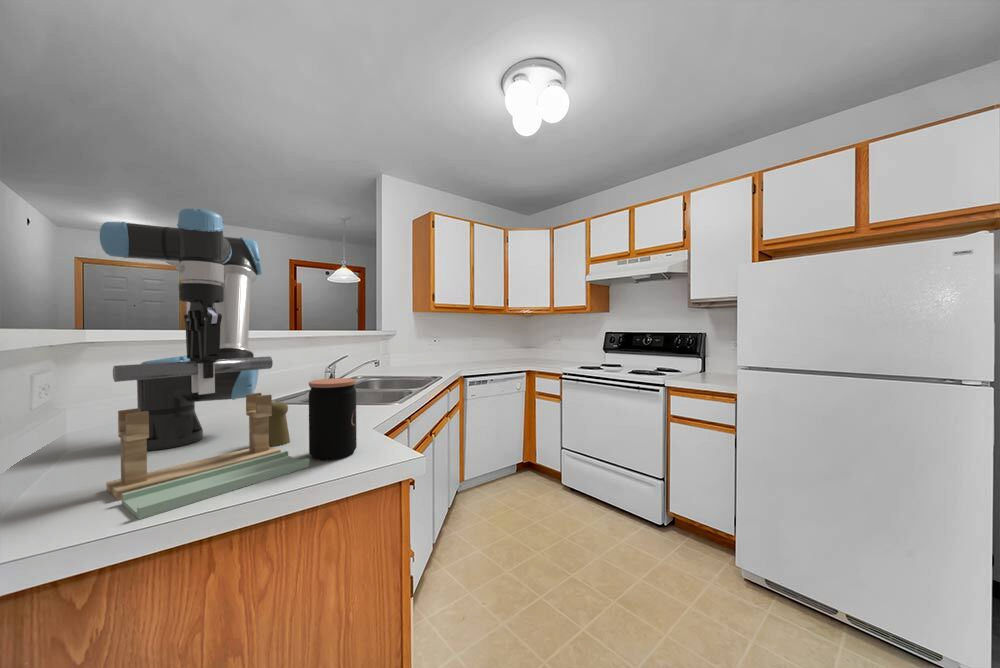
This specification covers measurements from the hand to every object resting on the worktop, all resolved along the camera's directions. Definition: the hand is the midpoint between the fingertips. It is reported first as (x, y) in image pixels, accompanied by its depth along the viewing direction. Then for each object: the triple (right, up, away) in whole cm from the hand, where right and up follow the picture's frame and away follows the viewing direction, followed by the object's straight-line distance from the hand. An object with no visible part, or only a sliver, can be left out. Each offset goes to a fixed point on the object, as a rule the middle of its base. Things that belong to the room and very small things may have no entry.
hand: (203, 392), depth 81 cm
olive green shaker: (+4, -17, +20) cm, 27 cm away
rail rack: (0, -17, 0) cm, 17 cm away
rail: (0, +5, 0) cm, 5 cm away
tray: (+10, -17, -6) cm, 21 cm away
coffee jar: (+23, -17, +11) cm, 31 cm away
